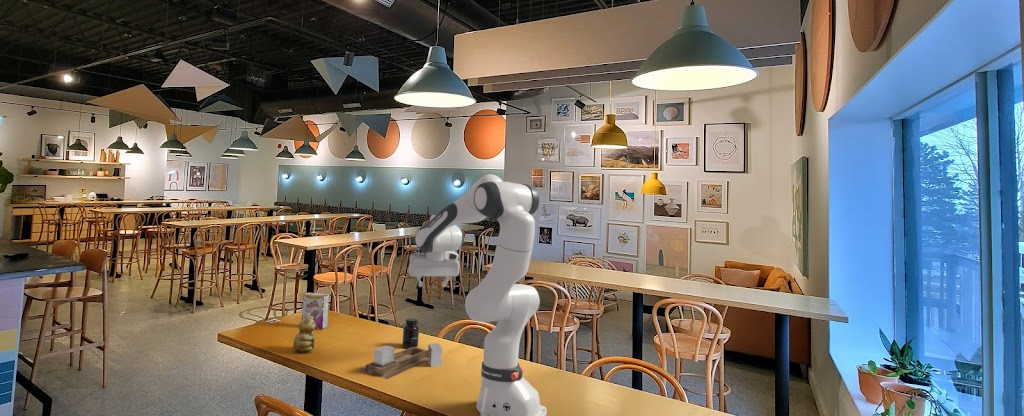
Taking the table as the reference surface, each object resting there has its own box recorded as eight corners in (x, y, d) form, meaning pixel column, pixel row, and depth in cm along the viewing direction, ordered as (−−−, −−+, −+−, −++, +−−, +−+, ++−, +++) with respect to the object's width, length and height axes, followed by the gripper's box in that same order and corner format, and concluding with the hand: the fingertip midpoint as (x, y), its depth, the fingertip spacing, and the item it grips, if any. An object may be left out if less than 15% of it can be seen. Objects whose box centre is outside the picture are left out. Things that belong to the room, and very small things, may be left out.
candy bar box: (300, 328, 221) (302, 294, 221) (306, 325, 226) (308, 292, 226) (322, 329, 220) (323, 295, 219) (328, 327, 225) (329, 293, 224)
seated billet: (393, 368, 170) (394, 347, 170) (381, 373, 165) (382, 351, 165) (385, 366, 172) (386, 345, 172) (373, 371, 167) (374, 349, 166)
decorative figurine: (315, 353, 186) (316, 317, 186) (292, 355, 183) (294, 318, 183) (314, 346, 195) (315, 311, 195) (292, 348, 192) (294, 312, 191)
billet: (437, 363, 181) (438, 343, 181) (441, 368, 175) (441, 348, 175) (427, 364, 179) (428, 344, 179) (430, 369, 174) (431, 348, 174)
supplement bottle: (414, 349, 197) (415, 322, 197) (399, 348, 198) (400, 320, 198) (420, 345, 204) (421, 318, 203) (406, 343, 205) (407, 316, 205)
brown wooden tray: (434, 361, 184) (435, 351, 184) (387, 383, 160) (387, 371, 160) (407, 354, 191) (408, 344, 190) (358, 374, 167) (358, 363, 167)
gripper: (412, 254, 174) (408, 289, 176) (462, 255, 183) (458, 288, 185) (408, 250, 180) (404, 283, 181) (457, 251, 188) (453, 283, 190)
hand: (432, 286), depth 183 cm, fingers open, 8 cm apart
